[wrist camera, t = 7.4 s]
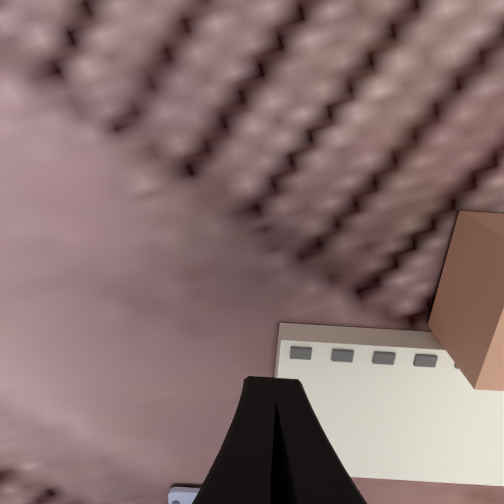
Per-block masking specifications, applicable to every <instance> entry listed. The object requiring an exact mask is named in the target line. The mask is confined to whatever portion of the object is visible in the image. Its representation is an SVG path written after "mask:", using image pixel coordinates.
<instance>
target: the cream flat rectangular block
mask: <svg viewBox="0 0 504 504" xmlns="http://www.w3.org/2000/svg"><path fill="white" fill-rule="evenodd" d="M274 378H287V379H298V380H299V381H300V382H301V383H302V385H303V388H304V390H305V393H306V395H307V397H308V400H309V402H310V404H311V406H312V408H313V411H314V413H315V415H316V417H317V419H318V421H319V423H320V425H321V427H322V428H323V430H324V432H325V434H326V436H327V438H328V440H329V441H330V443H331V445H332V447H333V449H334V450H335V452H336V454H337V456H338V457H339V459H340V461H341V463H342V464H343V466H344V468H345V469H346V471H347V473H348V474H349V476H350V477H362V478H379V479H395V480H412V481H429V482H445V483H462V484H478V485H495V486H504V391H491V390H475V389H473V387H472V386H471V384H470V383H469V382H468V380H467V379H466V378H465V376H464V375H463V373H462V372H461V371H460V369H459V368H458V367H457V365H456V364H455V362H454V361H453V360H452V358H451V357H450V356H449V354H448V353H447V351H446V350H445V349H444V347H443V346H442V344H441V343H440V342H439V340H438V339H437V338H436V336H435V335H434V333H433V332H425V331H409V330H392V329H376V328H359V327H343V326H326V325H310V324H294V323H280V325H279V335H278V345H277V355H276V365H275V375H274Z"/></svg>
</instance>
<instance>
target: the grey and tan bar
mask: <svg viewBox="0 0 504 504" xmlns="http://www.w3.org/2000/svg"><path fill="white" fill-rule="evenodd" d="M428 327H429V328H430V329H431V331H432V332H433V333H434V335H435V336H436V338H437V339H438V340H439V342H440V343H441V344H442V346H443V347H444V349H445V350H446V351H447V353H448V354H449V356H450V357H451V358H452V360H453V361H454V362H455V364H456V365H457V367H458V368H459V369H460V371H461V372H462V373H463V375H464V376H465V378H466V379H467V380H468V382H469V383H470V384H471V386H472V387H473V389H475V390H491V391H504V213H488V212H471V211H459V214H458V218H457V221H456V225H455V229H454V232H453V236H452V239H451V243H450V247H449V250H448V254H447V257H446V261H445V265H444V268H443V272H442V275H441V279H440V283H439V286H438V290H437V293H436V297H435V301H434V304H433V308H432V311H431V315H430V319H429V322H428Z"/></svg>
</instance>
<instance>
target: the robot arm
mask: <svg viewBox="0 0 504 504" xmlns="http://www.w3.org/2000/svg"><path fill="white" fill-rule="evenodd" d="M168 504H367V503H366V501H365V500H364V498H363V496H362V495H361V493H360V492H359V490H358V489H357V487H356V485H355V484H354V482H353V481H352V479H351V478H350V476H349V474H348V473H347V471H346V469H345V468H344V466H343V464H342V463H341V461H340V459H339V457H338V456H337V454H336V452H335V450H334V449H333V447H332V445H331V443H330V441H329V440H328V438H327V436H326V434H325V432H324V430H323V428H322V427H321V425H320V423H319V421H318V419H317V417H316V415H315V413H314V411H313V408H312V406H311V404H310V402H309V400H308V397H307V395H306V393H305V390H304V388H303V385H302V383H301V382H300V381H299V380H298V379H287V378H271V377H255V376H248V377H247V378H246V379H244V384H243V390H242V394H241V398H240V401H239V404H238V407H237V410H236V413H235V415H234V418H233V421H232V423H231V426H230V428H229V430H228V433H227V435H226V437H225V440H224V442H223V444H222V447H221V449H220V451H219V453H218V455H217V457H216V459H215V461H214V463H213V465H212V467H211V469H210V471H209V473H208V475H207V477H206V479H205V481H204V483H203V485H202V486H201V488H189V487H173V488H171V489H170V490H169V494H168Z"/></svg>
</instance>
